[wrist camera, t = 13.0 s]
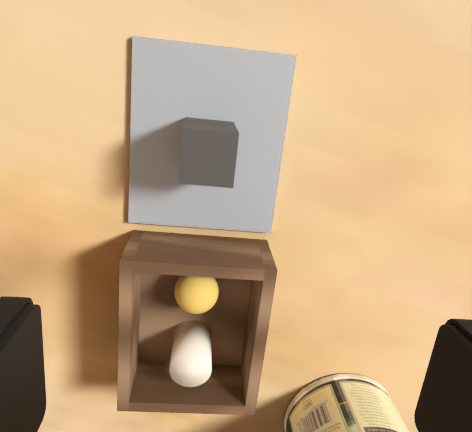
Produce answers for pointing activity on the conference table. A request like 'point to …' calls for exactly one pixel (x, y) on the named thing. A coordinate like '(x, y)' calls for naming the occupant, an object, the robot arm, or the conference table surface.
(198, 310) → the mustard ball
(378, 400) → the coffee can
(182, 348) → the white capsule
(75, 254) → the conference table surface
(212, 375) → the box
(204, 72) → the lid
